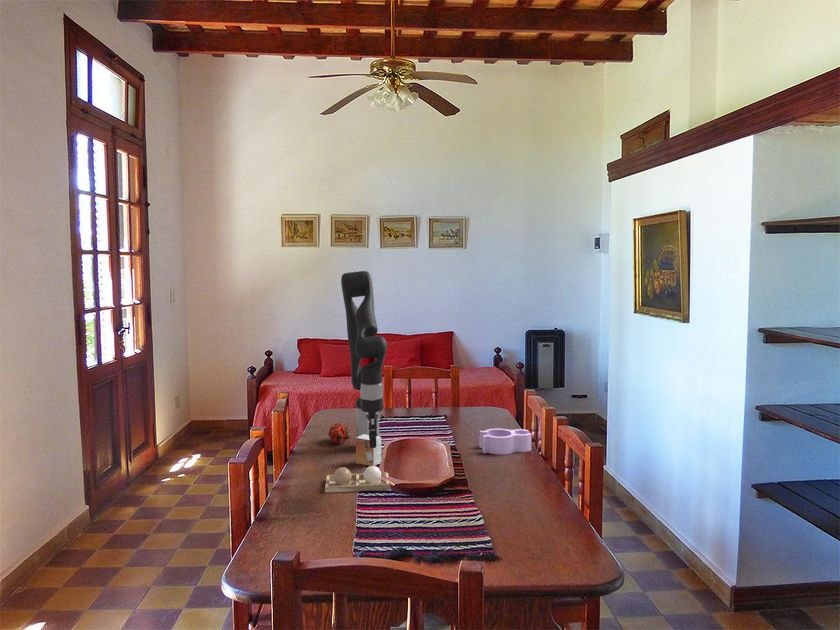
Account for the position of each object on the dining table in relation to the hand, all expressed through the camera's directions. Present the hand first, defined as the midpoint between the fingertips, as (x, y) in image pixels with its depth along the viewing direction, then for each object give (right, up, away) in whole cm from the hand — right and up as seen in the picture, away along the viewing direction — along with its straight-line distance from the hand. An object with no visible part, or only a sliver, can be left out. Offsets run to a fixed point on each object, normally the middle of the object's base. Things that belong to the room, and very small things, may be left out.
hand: (372, 443), depth 189 cm
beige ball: (-10, -14, 0) cm, 17 cm away
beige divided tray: (-5, -15, +1) cm, 16 cm away
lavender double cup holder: (+50, -11, +38) cm, 64 cm away
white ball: (0, -14, +1) cm, 14 cm away
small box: (-3, -13, +22) cm, 26 cm away
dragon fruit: (-18, -11, +48) cm, 53 cm away
